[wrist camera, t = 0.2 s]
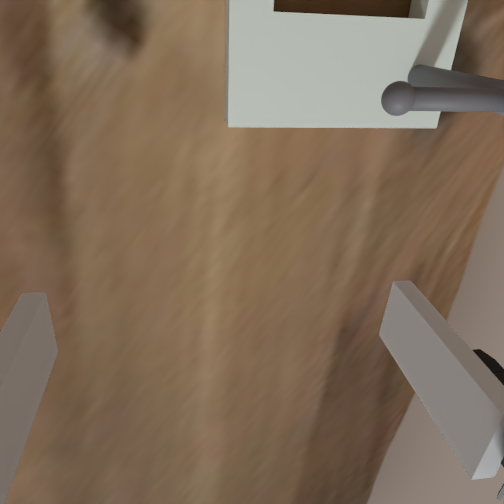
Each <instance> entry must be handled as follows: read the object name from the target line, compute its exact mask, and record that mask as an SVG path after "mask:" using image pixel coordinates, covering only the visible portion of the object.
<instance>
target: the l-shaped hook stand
mask: <svg viewBox="0 0 504 504" xmlns="http://www.w3.org/2000/svg"><path fill="white" fill-rule="evenodd" d="M467 2H468V0H411V6H410V11H409V16H408V18H395V17H374V16H354V15H333V14H313V13H292V12H273V9H274V0H226V11H225V122H226V124H227V126H228V127H302V128H437V124H438V120H439V116H440V112H441V111H454V112H494V113H498V114H501V115H504V80H499V79H494V78H489V77H484V76H478V75H473V74H468V73H463V72H457V71H452V70H451V67H452V63H453V59H454V55H455V51H456V47H457V43H458V39H459V34H460V30H461V26H462V22H463V18H464V14H465V10H466V6H467Z"/></svg>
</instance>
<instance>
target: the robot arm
mask: <svg viewBox="0 0 504 504" xmlns="http://www.w3.org/2000/svg"><path fill="white" fill-rule="evenodd" d="M379 336H380V337H381V339H382V340H383V342H384V344H385V345H386V347H387V348H388V350H389V351H390V353H391V355H392V356H393V358H394V359H395V361H396V362H397V364H398V366H399V367H400V369H401V370H402V372H403V373H404V375H405V377H406V378H407V380H408V381H409V383H410V384H411V386H412V388H413V389H414V391H415V392H416V394H417V395H418V397H419V398H420V400H421V402H422V403H423V405H424V406H425V408H426V410H427V411H428V413H429V414H430V416H431V417H432V419H433V421H434V422H435V424H436V425H437V427H438V428H439V430H440V432H441V433H442V435H443V436H444V438H445V439H446V441H447V443H448V444H449V446H450V447H451V449H452V450H453V452H454V454H455V455H456V457H457V458H458V460H459V461H460V463H461V465H462V466H463V468H464V469H465V471H466V472H467V474H468V476H469V477H470V479H472V480H473V479H481V478H489V477H494V476H495V474H496V472H497V470H498V469H499V467H500V465H501V464H502V465H503V467H504V369H503V368H502V367H501V366H500V365H499V363H498V362H497V361H496V360H495V359H493V358H492V357H491V356H489V355H488V354H486V353H485V352H483V351H482V350H480V349H478V350H472V349H471V348H470V347H469V346H468V345H467V344H466V342H465V341H464V340H463V339H462V338H461V337H460V336H459V335H458V333H457V332H456V331H455V330H454V329H453V328H452V327H451V326H450V324H449V323H448V322H447V321H446V320H445V319H444V318H443V317H442V315H441V314H440V313H439V312H438V311H437V310H436V309H435V308H434V306H433V305H432V304H431V303H430V302H429V301H428V300H427V299H426V297H425V296H424V295H423V294H422V293H421V292H420V291H419V290H418V288H417V287H416V286H415V285H414V284H413V283H412V282H411V281H393V284H392V287H391V291H390V295H389V299H388V302H387V306H386V310H385V314H384V317H383V321H382V325H381V328H380V332H379ZM57 353H58V350H57V345H56V341H55V336H54V331H53V326H52V321H51V316H50V311H49V306H48V302H47V297H46V292H41V293H22V294H21V296H20V298H19V300H18V301H17V303H16V305H15V307H14V309H13V310H12V312H11V314H10V316H9V317H8V319H7V321H6V323H5V325H4V326H3V328H2V330H1V332H0V504H4V503H5V500H6V497H7V495H8V492H9V489H10V486H11V483H12V480H13V478H14V475H15V472H16V469H17V466H18V463H19V461H20V458H21V455H22V452H23V449H24V446H25V444H26V441H27V438H28V435H29V432H30V430H31V427H32V424H33V421H34V418H35V415H36V413H37V410H38V407H39V404H40V401H41V398H42V396H43V393H44V390H45V387H46V384H47V381H48V379H49V376H50V373H51V370H52V367H53V365H54V362H55V359H56V356H57ZM503 495H504V484H503V486H502V488H501V489H500V491H499V493H498V495H497V499H499V500H501V498H502V497H503Z"/></svg>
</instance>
